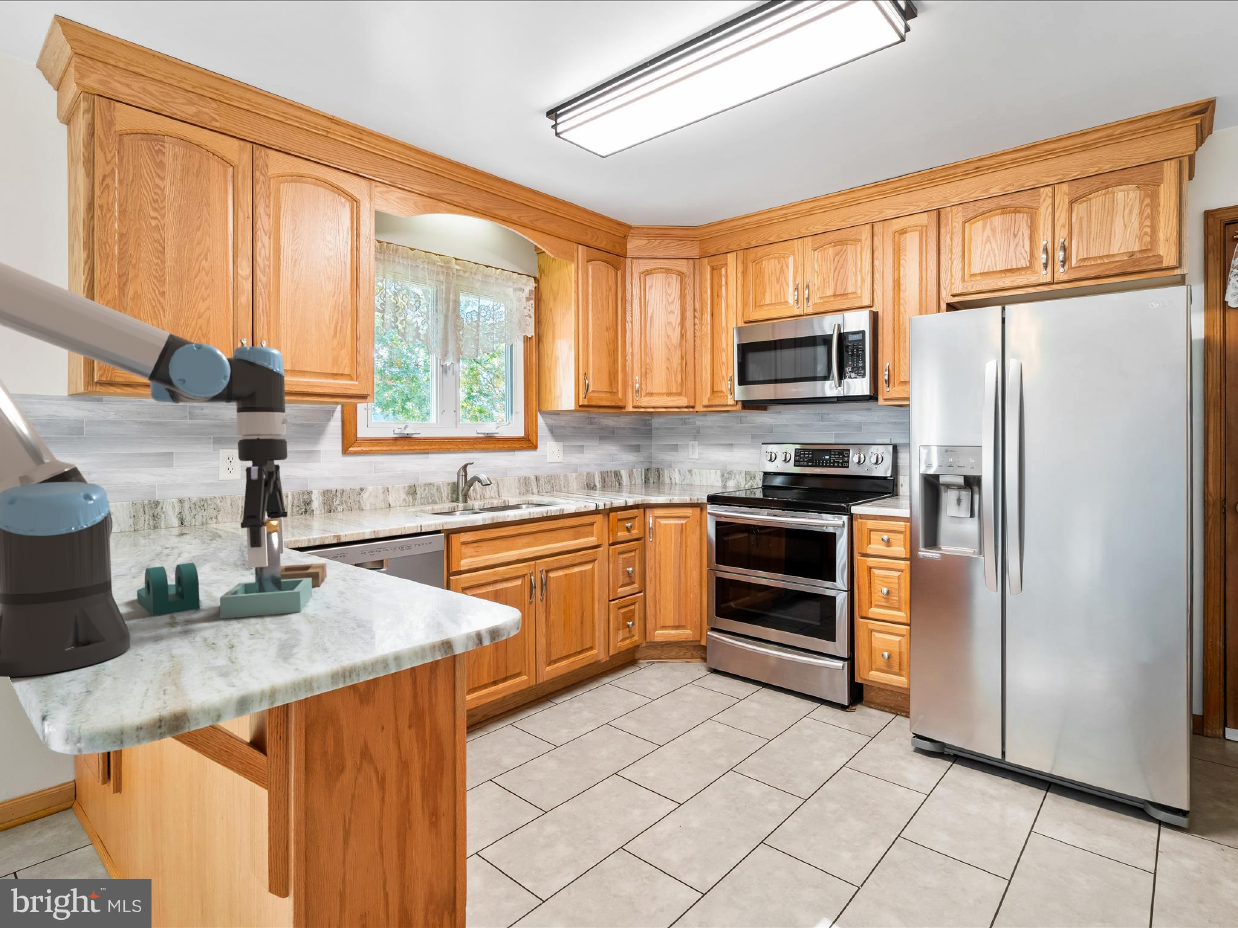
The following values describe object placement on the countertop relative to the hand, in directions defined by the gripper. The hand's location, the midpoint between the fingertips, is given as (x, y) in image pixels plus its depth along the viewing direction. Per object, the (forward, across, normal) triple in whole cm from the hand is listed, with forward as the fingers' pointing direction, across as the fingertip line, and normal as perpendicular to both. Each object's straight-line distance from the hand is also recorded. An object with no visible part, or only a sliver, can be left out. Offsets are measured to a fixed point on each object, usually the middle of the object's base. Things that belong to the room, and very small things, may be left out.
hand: (267, 560), depth 118 cm
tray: (+8, 0, 0) cm, 8 cm away
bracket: (+9, +10, +19) cm, 23 cm away
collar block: (+8, +20, -1) cm, 22 cm away
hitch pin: (+7, 0, 0) cm, 7 cm away
